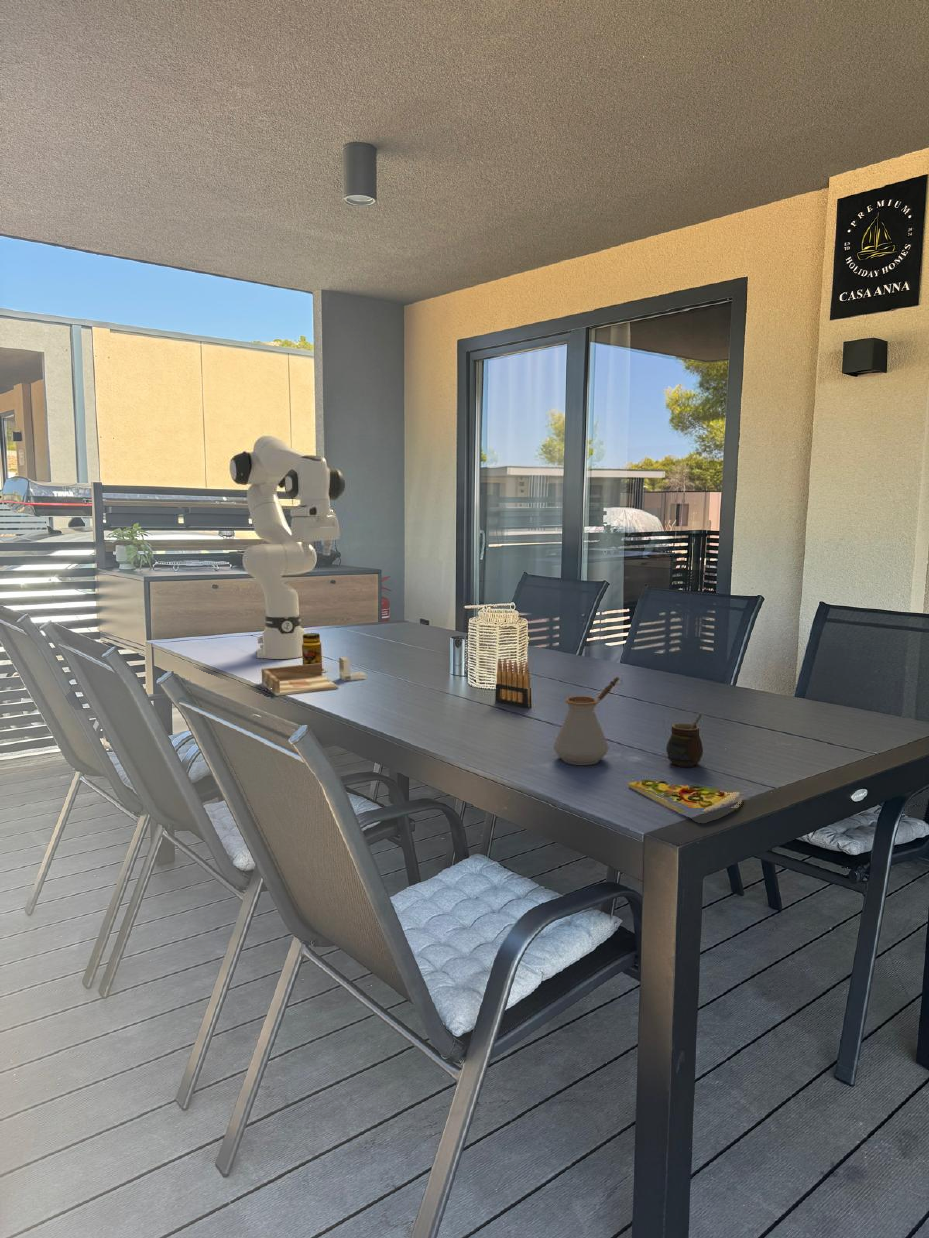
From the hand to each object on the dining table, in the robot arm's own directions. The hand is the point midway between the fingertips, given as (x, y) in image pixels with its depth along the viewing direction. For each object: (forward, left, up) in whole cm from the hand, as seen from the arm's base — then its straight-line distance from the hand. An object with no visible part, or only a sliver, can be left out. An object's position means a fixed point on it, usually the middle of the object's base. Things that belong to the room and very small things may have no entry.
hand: (317, 556), depth 255 cm
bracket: (+8, +7, -37) cm, 39 cm away
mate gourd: (+117, +43, -37) cm, 131 cm away
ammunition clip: (+58, +35, -37) cm, 78 cm away
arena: (+10, -10, -37) cm, 40 cm away
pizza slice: (+133, +29, -38) cm, 141 cm away
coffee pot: (+103, +30, -37) cm, 114 cm away
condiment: (-9, -1, -37) cm, 38 cm away
